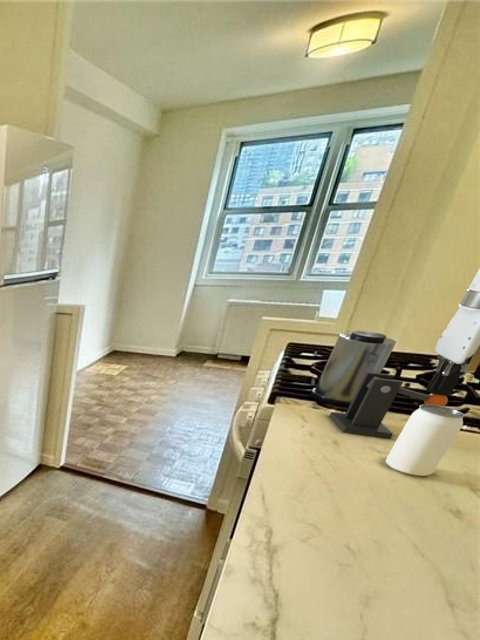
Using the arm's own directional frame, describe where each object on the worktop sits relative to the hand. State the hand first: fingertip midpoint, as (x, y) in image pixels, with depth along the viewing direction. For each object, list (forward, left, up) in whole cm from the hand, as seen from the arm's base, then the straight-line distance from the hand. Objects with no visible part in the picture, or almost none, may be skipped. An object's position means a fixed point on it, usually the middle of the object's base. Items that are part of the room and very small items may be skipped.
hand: (437, 393), depth 99 cm
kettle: (+8, -18, -10) cm, 22 cm away
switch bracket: (+9, 0, -10) cm, 13 cm away
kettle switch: (+5, 0, -2) cm, 5 cm away
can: (+8, +19, -10) cm, 23 cm away
